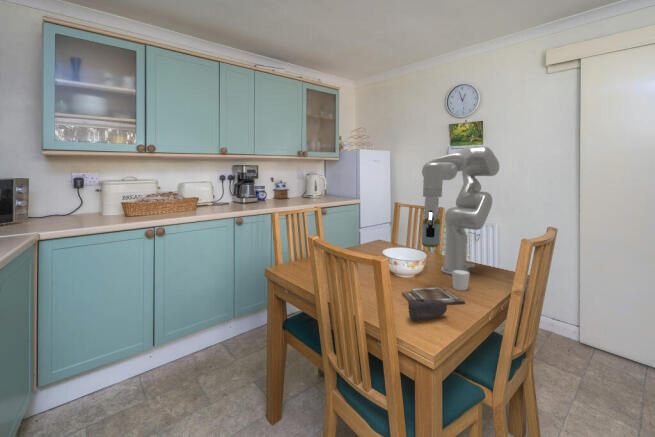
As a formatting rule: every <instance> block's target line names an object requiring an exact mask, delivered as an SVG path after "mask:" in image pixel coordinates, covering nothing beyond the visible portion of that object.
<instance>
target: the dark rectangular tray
mask: <svg viewBox="0 0 655 437" xmlns="http://www.w3.org/2000/svg"><path fill="white" fill-rule="evenodd" d="M401 295H402V297H404V298H405V299H406V300H407V302H408V301H409V300H413V299H435V300H439V301H442V302H444V303H445V304H446V306H448V305H464V304H466V301H465V300H464V298H463V299H462V298H461V296H459V295H458V294H456V293H455V292H454V291H452V290H450V289H448V288H443V289H442V288H441V287H439V286H438V287H437V286H436V287H424V288H423V287H422V288H411V291H402V292H401Z"/></svg>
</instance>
